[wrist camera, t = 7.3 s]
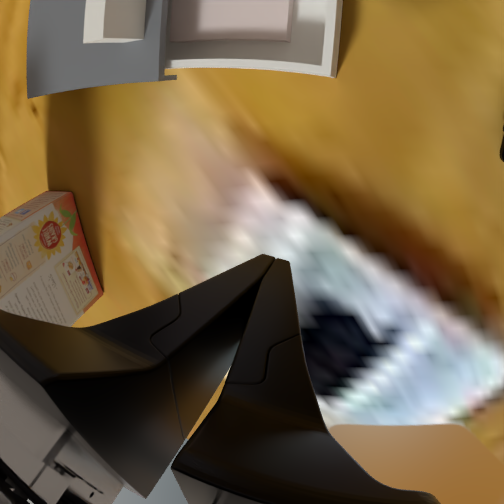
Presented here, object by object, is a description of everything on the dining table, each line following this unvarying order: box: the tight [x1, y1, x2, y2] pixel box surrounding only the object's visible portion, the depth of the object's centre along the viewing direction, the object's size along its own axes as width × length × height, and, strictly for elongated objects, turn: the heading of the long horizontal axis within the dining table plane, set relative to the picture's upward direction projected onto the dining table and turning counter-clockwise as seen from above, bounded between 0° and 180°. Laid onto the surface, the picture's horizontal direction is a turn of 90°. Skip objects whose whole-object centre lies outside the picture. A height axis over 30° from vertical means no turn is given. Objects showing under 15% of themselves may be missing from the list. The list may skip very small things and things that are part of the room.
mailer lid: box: [27, 0, 177, 99], centre depth 14 cm, size 15×12×6 cm
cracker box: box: [0, 191, 103, 327], centre depth 25 cm, size 14×6×21 cm, turn 2°
